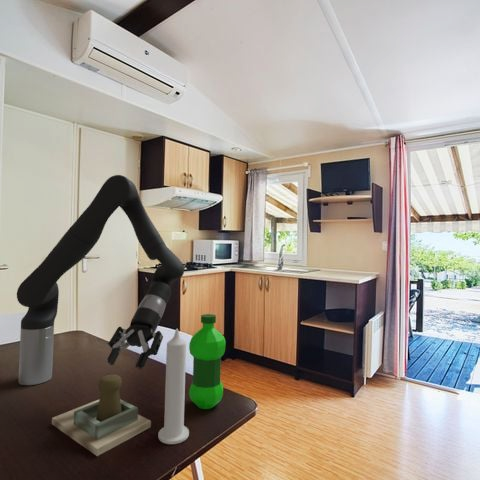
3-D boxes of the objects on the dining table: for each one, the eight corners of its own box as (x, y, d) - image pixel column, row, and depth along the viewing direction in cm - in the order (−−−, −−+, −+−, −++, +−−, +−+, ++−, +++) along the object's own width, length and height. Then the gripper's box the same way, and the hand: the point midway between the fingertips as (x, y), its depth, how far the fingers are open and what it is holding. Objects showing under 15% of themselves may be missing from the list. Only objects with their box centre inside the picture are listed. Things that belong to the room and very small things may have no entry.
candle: (160, 427, 79) (164, 324, 80) (189, 426, 80) (192, 325, 80) (155, 445, 72) (159, 332, 73) (187, 444, 73) (191, 332, 73)
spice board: (51, 424, 79) (52, 405, 79) (104, 402, 91) (104, 386, 91) (97, 456, 68) (97, 434, 68) (150, 427, 79) (151, 408, 79)
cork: (112, 430, 74) (114, 382, 75) (89, 427, 76) (91, 379, 76) (126, 417, 80) (128, 372, 81) (105, 414, 82) (107, 370, 82)
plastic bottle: (217, 416, 85) (219, 321, 85) (180, 409, 88) (183, 317, 88) (229, 399, 94) (231, 313, 95) (196, 394, 97) (198, 311, 98)
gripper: (123, 304, 95) (94, 355, 84) (166, 308, 92) (142, 362, 80) (133, 318, 100) (107, 369, 89) (174, 323, 97) (153, 376, 85)
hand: (124, 365), depth 85 cm, fingers open, 8 cm apart
